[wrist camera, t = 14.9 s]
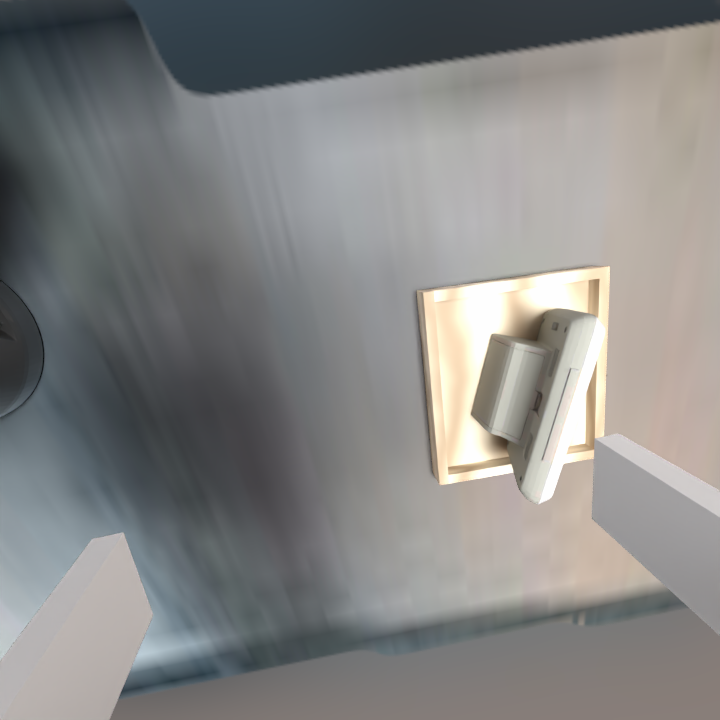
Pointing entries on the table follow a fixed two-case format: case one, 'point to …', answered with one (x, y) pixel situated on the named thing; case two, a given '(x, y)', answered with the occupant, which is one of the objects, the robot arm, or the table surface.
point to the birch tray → (468, 354)
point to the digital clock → (539, 394)
